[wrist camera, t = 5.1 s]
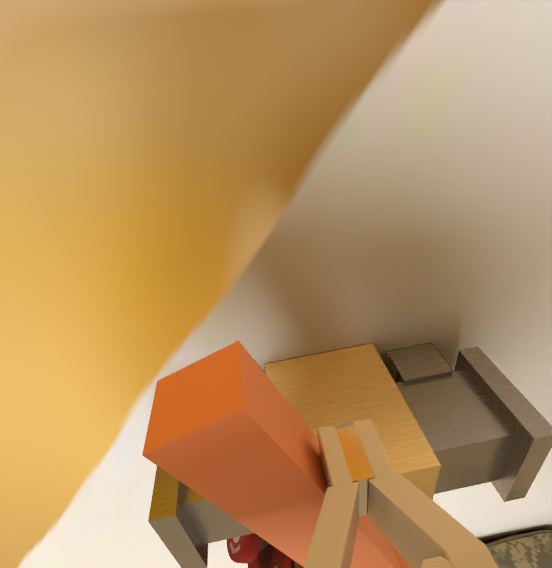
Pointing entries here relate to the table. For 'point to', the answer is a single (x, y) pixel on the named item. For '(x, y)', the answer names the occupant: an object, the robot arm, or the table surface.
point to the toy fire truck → (258, 553)
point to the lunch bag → (523, 550)
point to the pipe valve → (387, 430)
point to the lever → (249, 454)
